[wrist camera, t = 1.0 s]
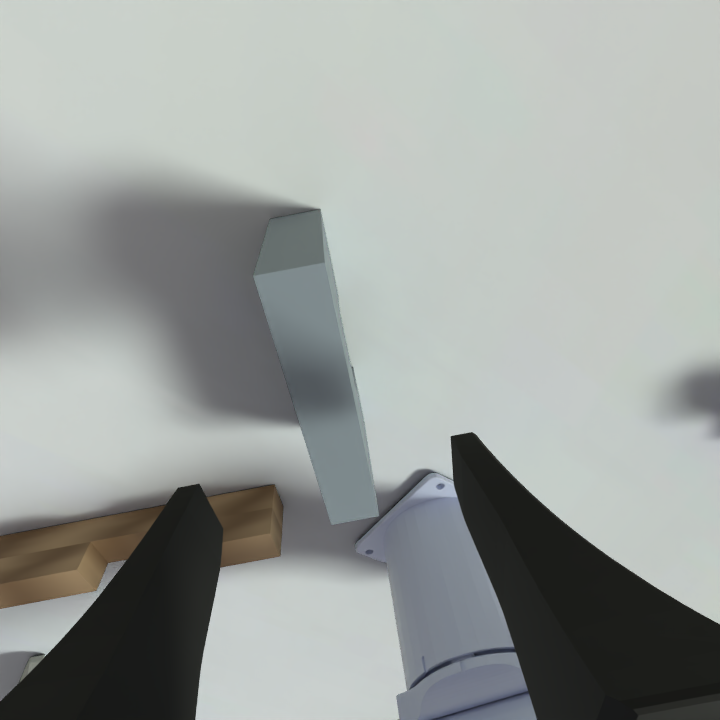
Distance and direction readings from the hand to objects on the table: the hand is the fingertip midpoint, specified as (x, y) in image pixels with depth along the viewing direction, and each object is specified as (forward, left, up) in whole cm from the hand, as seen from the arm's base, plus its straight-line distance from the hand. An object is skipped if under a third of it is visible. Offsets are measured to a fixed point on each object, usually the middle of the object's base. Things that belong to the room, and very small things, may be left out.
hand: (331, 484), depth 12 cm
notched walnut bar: (+2, +16, -9) cm, 18 cm away
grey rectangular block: (0, 0, -9) cm, 9 cm away
